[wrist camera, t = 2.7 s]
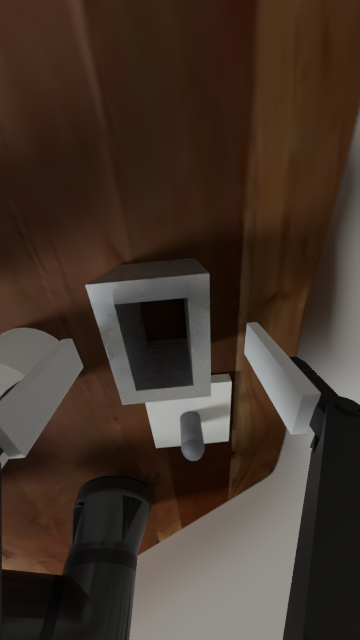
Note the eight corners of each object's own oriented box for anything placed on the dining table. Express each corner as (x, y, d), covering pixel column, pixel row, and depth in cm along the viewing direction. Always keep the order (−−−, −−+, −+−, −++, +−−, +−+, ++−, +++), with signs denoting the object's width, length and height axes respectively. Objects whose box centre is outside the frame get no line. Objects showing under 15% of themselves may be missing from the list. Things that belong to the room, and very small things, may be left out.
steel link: (198, 346, 24) (211, 396, 17) (137, 352, 24) (122, 404, 17) (194, 257, 19) (209, 273, 12) (117, 264, 19) (85, 284, 12)
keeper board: (226, 432, 32) (239, 482, 25) (156, 438, 32) (152, 490, 25) (228, 373, 26) (247, 419, 20) (143, 381, 26) (134, 429, 20)
